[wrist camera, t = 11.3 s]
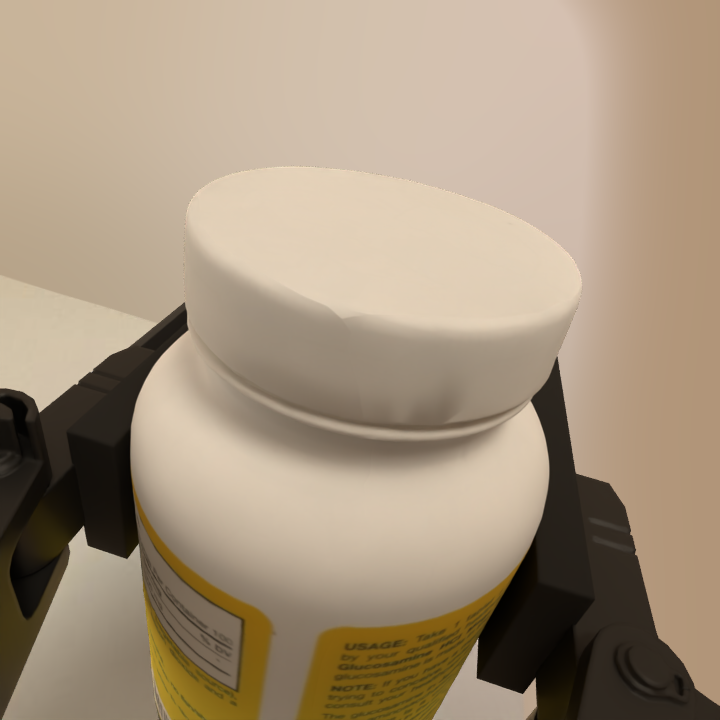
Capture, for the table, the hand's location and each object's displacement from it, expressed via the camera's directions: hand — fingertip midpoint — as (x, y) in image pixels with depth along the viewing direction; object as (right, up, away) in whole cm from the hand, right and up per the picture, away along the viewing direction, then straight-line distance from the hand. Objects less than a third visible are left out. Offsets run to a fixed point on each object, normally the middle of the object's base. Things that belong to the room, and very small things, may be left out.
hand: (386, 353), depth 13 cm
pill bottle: (-2, -8, -1) cm, 8 cm away
